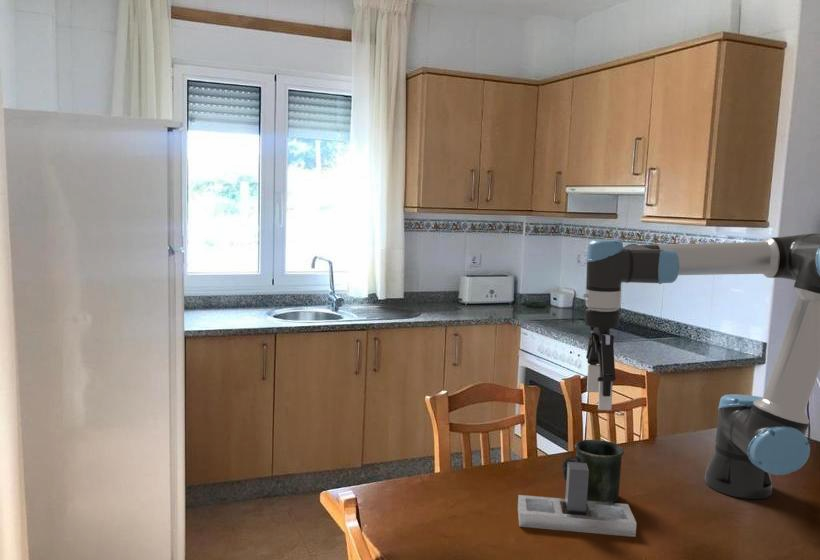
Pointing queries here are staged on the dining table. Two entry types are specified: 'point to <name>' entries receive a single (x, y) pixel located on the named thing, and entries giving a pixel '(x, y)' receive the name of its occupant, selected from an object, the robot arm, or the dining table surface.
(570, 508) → the steel peg
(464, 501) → the dining table surface
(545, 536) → the dining table surface
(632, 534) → the white peg holder tray
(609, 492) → the mug
